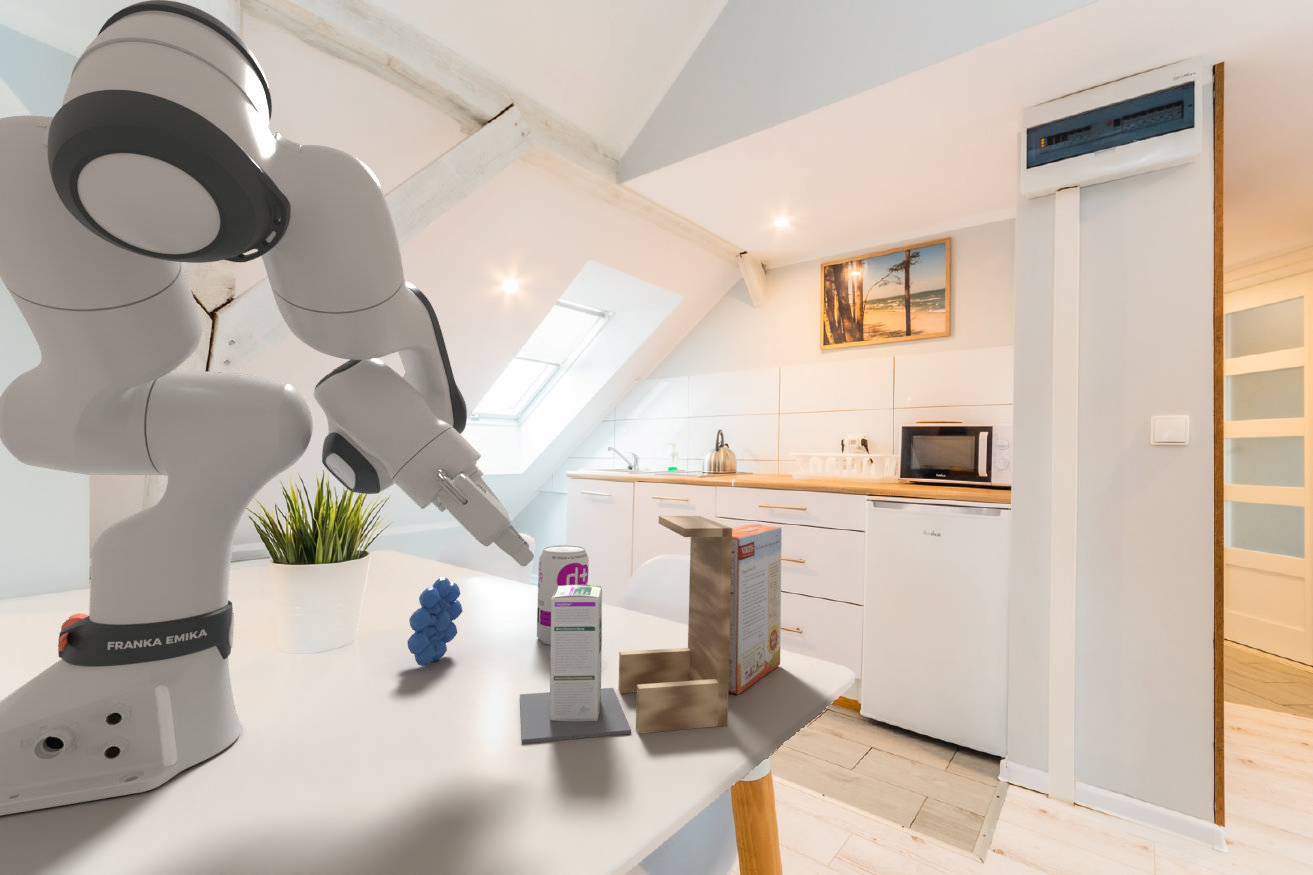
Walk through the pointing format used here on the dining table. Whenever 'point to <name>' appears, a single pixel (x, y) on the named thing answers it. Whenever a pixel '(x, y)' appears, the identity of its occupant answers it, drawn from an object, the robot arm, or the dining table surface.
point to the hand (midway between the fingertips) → (527, 556)
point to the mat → (543, 729)
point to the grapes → (434, 621)
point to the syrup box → (576, 653)
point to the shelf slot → (689, 642)
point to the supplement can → (557, 580)
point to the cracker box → (754, 604)
